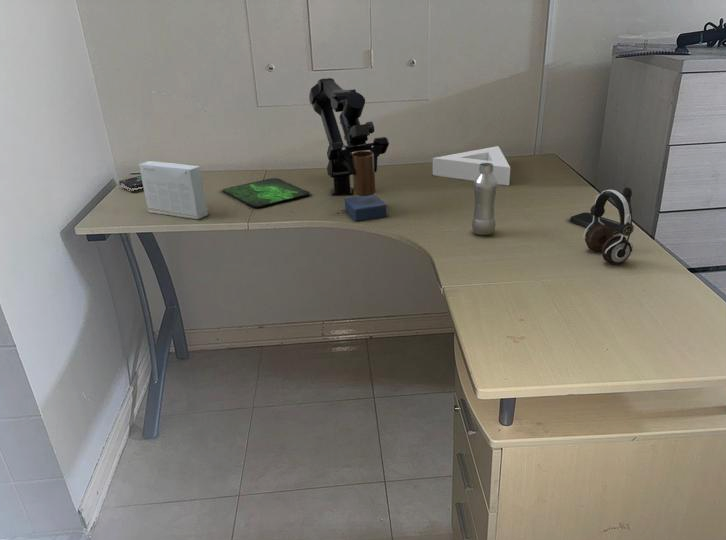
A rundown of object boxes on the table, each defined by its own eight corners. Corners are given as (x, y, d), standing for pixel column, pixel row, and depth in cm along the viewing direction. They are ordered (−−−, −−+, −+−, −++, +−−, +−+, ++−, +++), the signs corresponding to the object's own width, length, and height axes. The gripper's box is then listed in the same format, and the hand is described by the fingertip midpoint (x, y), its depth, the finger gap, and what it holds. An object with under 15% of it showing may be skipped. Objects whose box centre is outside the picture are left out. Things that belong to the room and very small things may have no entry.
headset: (637, 268, 161) (652, 191, 151) (609, 272, 160) (622, 194, 150) (603, 244, 176) (614, 171, 166) (577, 247, 174) (586, 174, 164)
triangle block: (509, 185, 224) (510, 167, 220) (434, 187, 224) (434, 169, 221) (497, 162, 250) (498, 145, 246) (430, 164, 250) (430, 147, 247)
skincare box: (209, 214, 206) (201, 165, 198) (198, 220, 202) (189, 170, 194) (159, 207, 214) (148, 159, 206) (147, 212, 210) (136, 164, 202)
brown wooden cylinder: (359, 188, 203) (357, 150, 197) (378, 190, 201) (377, 152, 195) (350, 194, 198) (348, 156, 192) (370, 196, 196) (368, 157, 190)
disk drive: (133, 194, 228) (170, 184, 237) (131, 186, 227) (169, 176, 236) (120, 188, 235) (157, 178, 244) (118, 180, 233) (155, 171, 242)
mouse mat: (220, 190, 228) (219, 187, 227) (274, 178, 239) (274, 175, 239) (255, 209, 209) (254, 206, 208) (312, 195, 220) (312, 192, 219)
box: (344, 210, 206) (343, 198, 204) (374, 206, 209) (374, 194, 207) (355, 221, 197) (355, 209, 195) (387, 216, 200) (386, 204, 198)
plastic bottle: (494, 238, 182) (498, 168, 172) (470, 237, 183) (473, 167, 173) (495, 230, 187) (499, 161, 177) (472, 229, 188) (475, 161, 178)
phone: (586, 211, 195) (627, 225, 184) (585, 215, 195) (626, 228, 185) (568, 217, 191) (609, 231, 180) (567, 221, 192) (609, 235, 181)
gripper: (326, 115, 188) (340, 162, 185) (386, 109, 194) (400, 154, 190) (321, 137, 198) (334, 182, 195) (378, 130, 204) (391, 174, 201)
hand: (365, 172), depth 195 cm, fingers closed on brown wooden cylinder, 6 cm apart
